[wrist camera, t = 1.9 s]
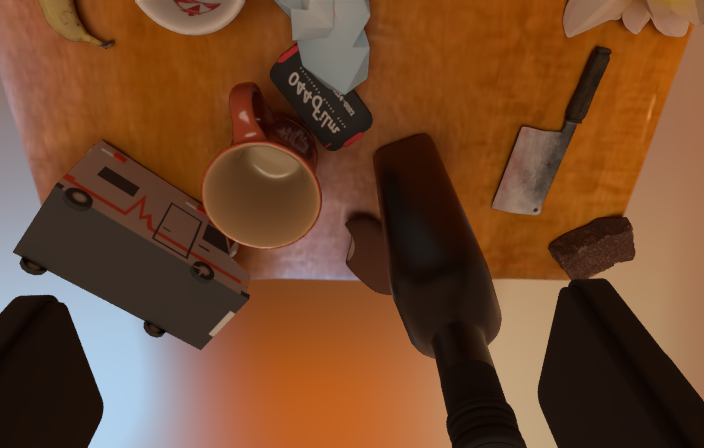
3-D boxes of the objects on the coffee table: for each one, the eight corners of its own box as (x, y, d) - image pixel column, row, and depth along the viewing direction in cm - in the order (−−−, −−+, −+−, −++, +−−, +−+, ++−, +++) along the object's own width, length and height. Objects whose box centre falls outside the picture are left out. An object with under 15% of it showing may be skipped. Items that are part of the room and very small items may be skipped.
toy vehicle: (254, 299, 42) (266, 235, 51) (51, 180, 36) (104, 130, 44) (192, 364, 45) (213, 294, 54) (-3, 266, 39) (56, 204, 48)
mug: (333, 183, 48) (331, 241, 39) (242, 196, 48) (219, 256, 39) (308, 53, 42) (299, 86, 33) (205, 69, 42) (169, 106, 33)
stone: (544, 240, 51) (559, 275, 53) (555, 257, 49) (570, 293, 51) (620, 207, 49) (632, 245, 52) (636, 223, 47) (647, 262, 49)
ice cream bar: (403, 321, 56) (323, 229, 50) (443, 297, 55) (367, 199, 48) (409, 341, 53) (325, 246, 47) (451, 316, 52) (372, 215, 46)
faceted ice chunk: (270, -65, 40) (241, -80, 35) (357, -95, 38) (339, -117, 33) (312, 101, 43) (291, 108, 38) (394, 81, 41) (383, 86, 36)
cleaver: (489, 206, 49) (537, 213, 50) (492, 212, 48) (540, 219, 49) (553, 37, 41) (609, 48, 42) (558, 39, 40) (616, 51, 41)
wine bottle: (389, 202, 48) (443, 514, 22) (369, 150, 46) (404, 437, 20) (446, 183, 48) (572, 485, 22) (429, 128, 45) (550, 399, 19)
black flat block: (312, 31, 41) (264, 68, 42) (311, 32, 40) (263, 70, 42) (377, 123, 45) (332, 154, 46) (378, 125, 44) (331, 156, 45)
